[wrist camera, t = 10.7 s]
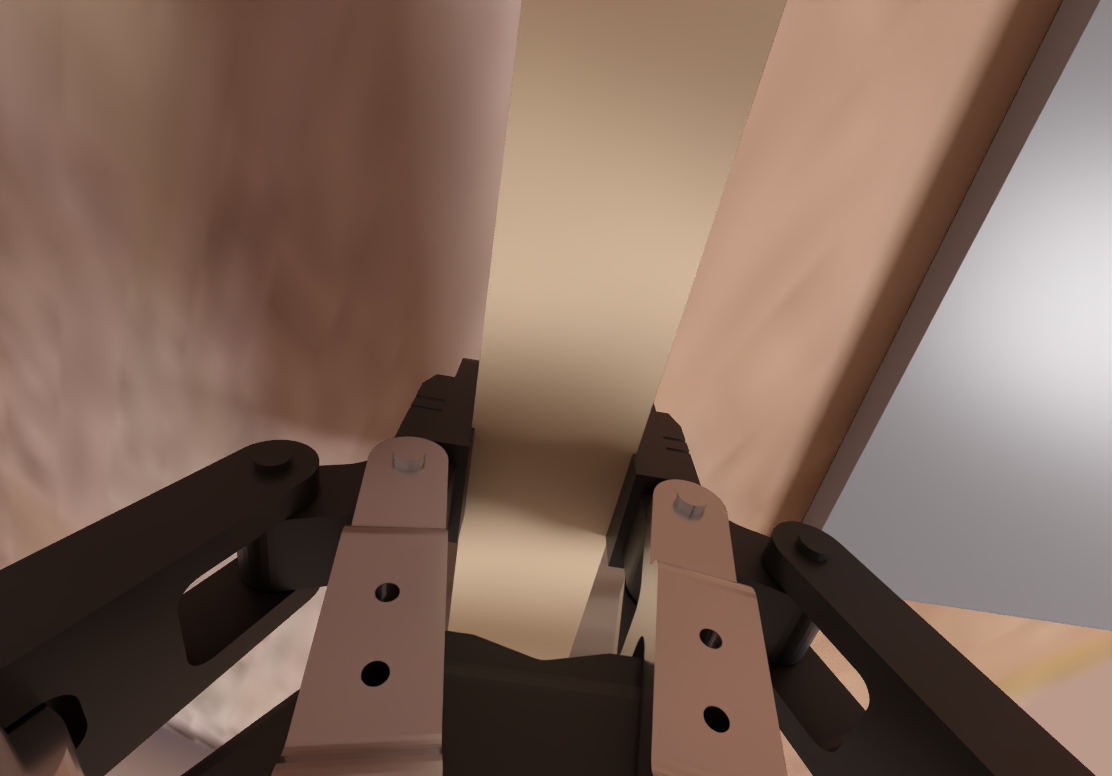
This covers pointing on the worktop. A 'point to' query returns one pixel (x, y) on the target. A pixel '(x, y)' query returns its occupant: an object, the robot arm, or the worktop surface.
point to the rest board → (1003, 372)
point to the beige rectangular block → (590, 293)
